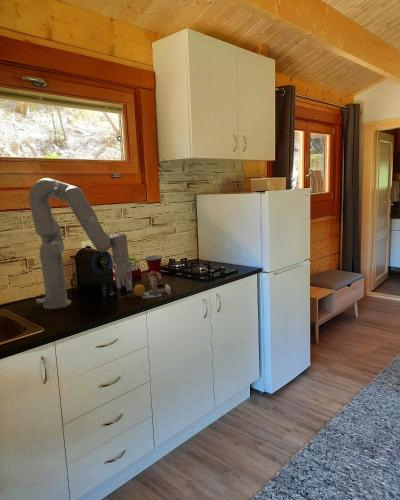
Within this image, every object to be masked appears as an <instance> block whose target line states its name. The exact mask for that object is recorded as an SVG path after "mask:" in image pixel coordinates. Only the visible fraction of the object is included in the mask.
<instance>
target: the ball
mask: <svg viewBox="0 0 400 500" xmlns="http://www.w3.org/2000/svg"><path fill="white" fill-rule="evenodd" d="M132 291H133V295H135V296H136V297H141V296H143V295H144V293H146V288H145V286H144V285H142V284H141V283H140V284H136V285H135V286H134V287H133V290H132Z"/></svg>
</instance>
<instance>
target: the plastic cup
mask: <svg viewBox="0 0 400 500" xmlns="http://www.w3.org/2000/svg"><path fill="white" fill-rule="evenodd" d="M162 258H163V256H162V255H160V254H155V255H154V254H153V255H149V256H146V257H144V260H145V261H146V265H147V268H148V271H149V273H150V272H151V271H155V272H158V273H161V267H162Z"/></svg>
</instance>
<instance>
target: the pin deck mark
mask: <svg viewBox="0 0 400 500" xmlns="http://www.w3.org/2000/svg"><path fill="white" fill-rule="evenodd" d="M140 297H141V299H150V298H158V297H163V294H158V295H157V296H153V295H149V293H148V291H145V293H144V295H143V296H140Z"/></svg>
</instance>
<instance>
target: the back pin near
mask: <svg viewBox="0 0 400 500" xmlns="http://www.w3.org/2000/svg"><path fill="white" fill-rule="evenodd" d="M152 289H153V296H157V295H158V291H157V290H158V285H157V279H152Z"/></svg>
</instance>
